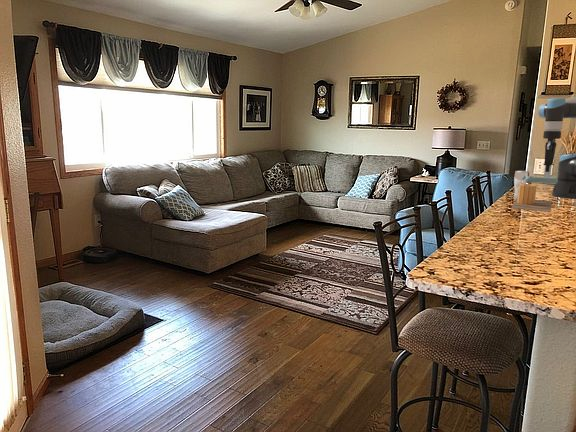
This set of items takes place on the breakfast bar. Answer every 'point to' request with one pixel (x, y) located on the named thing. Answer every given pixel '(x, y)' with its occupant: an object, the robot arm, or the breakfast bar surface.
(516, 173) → the beer glass
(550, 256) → the breakfast bar surface
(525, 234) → the breakfast bar surface
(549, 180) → the bar
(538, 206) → the plate
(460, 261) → the breakfast bar surface
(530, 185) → the collar
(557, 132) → the robot arm
